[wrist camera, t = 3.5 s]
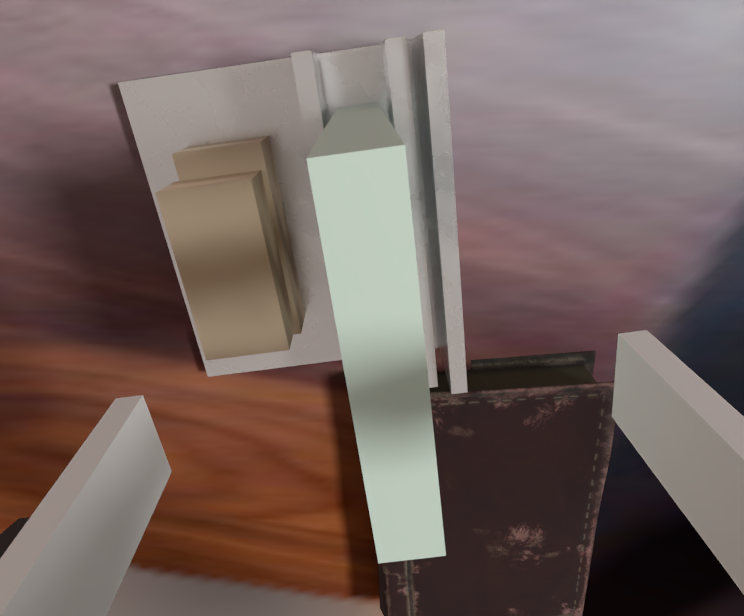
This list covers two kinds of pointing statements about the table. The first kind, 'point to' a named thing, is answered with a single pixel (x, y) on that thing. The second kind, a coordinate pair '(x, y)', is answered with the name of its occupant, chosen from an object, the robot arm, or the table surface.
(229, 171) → the offcut lower
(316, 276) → the rack
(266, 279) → the offcut upper
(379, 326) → the board
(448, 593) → the diary
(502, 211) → the table surface
